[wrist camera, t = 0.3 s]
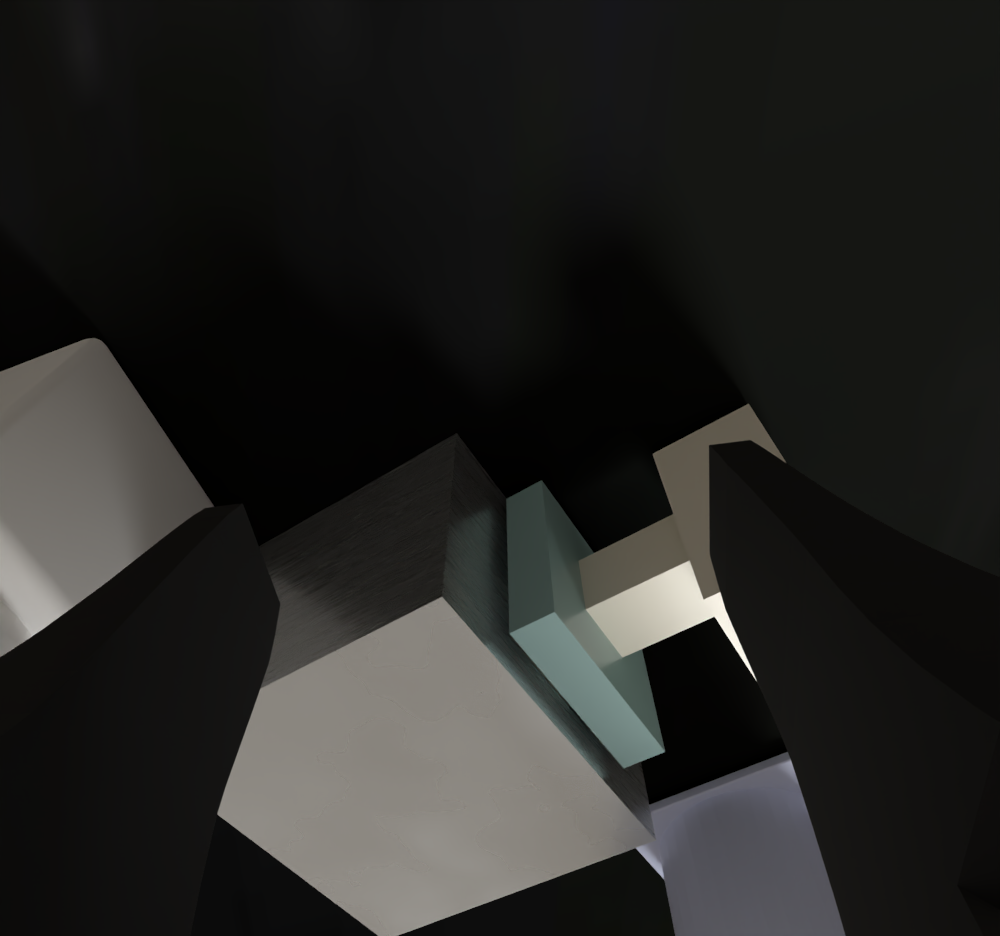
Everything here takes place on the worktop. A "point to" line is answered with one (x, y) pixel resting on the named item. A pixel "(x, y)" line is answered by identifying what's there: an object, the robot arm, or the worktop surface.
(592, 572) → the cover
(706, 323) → the worktop surface
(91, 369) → the medicine bottle
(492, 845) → the block
